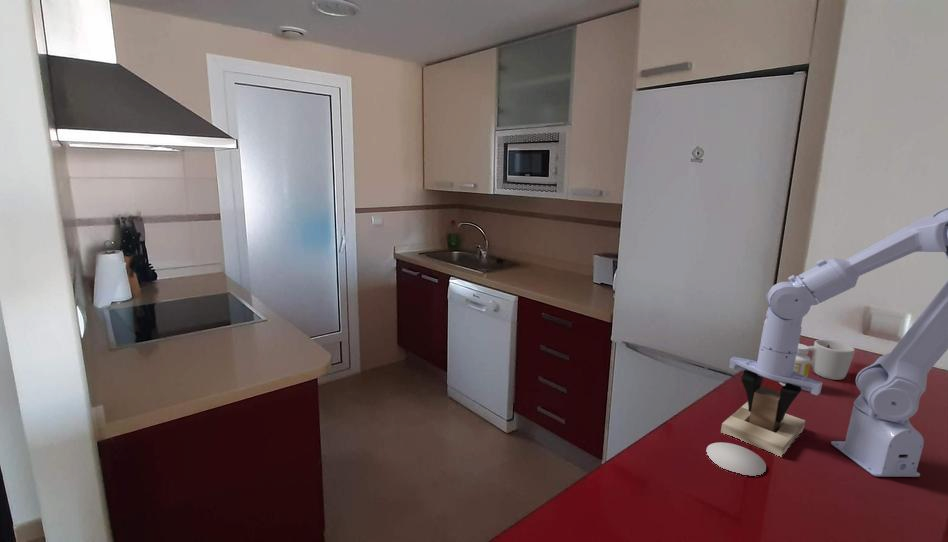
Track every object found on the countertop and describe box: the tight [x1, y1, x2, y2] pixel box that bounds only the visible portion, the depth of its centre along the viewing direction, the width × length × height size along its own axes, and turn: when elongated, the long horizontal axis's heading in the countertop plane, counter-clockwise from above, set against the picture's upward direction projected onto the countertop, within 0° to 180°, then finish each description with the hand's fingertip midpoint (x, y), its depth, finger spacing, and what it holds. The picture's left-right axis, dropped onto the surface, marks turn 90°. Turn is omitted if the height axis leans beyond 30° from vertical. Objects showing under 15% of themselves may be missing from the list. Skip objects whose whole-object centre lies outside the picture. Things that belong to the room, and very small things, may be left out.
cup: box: [807, 339, 856, 381], centre depth 116 cm, size 11×8×8 cm
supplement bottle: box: [778, 343, 811, 386], centre depth 109 cm, size 5×5×10 cm
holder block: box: [720, 401, 806, 458], centre depth 89 cm, size 10×14×2 cm
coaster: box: [705, 441, 767, 477], centre depth 80 cm, size 9×9×1 cm
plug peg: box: [749, 385, 780, 433], centre depth 89 cm, size 4×4×8 cm
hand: (765, 415), depth 89 cm, fingers closed on plug peg, 4 cm apart
